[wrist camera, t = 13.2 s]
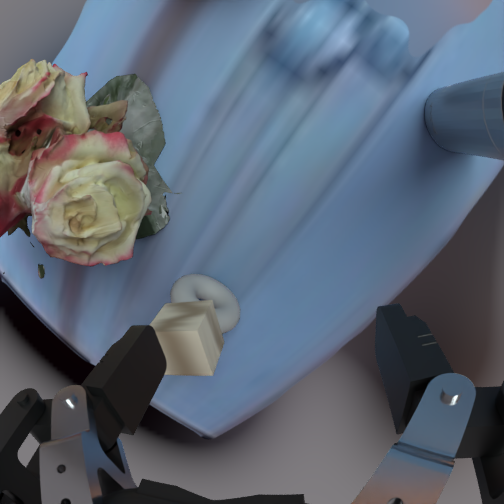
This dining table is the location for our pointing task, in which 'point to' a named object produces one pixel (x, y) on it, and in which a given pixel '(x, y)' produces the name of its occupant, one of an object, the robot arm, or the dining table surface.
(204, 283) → the donut
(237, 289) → the dining table surface
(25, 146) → the rose bouquet
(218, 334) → the birch cube
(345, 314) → the dining table surface
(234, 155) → the dining table surface
